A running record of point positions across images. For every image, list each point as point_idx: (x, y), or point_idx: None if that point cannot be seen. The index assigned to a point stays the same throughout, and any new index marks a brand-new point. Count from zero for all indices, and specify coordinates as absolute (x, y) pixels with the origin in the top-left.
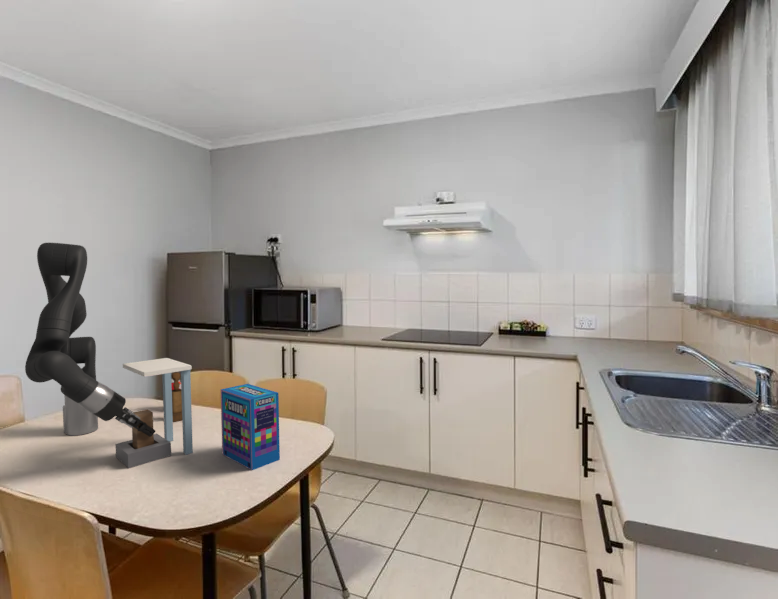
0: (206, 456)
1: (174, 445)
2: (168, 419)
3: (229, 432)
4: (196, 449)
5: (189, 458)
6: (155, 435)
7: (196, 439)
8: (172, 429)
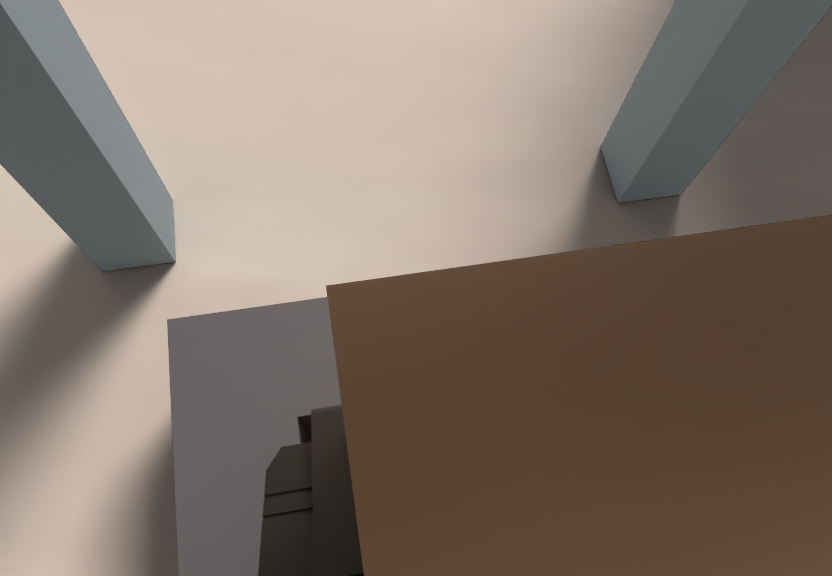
0: (815, 78)
1: (338, 222)
2: (65, 69)
3: None
4: (592, 96)
5: (790, 193)
6: (249, 348)
7: (317, 33)
8: (129, 130)
